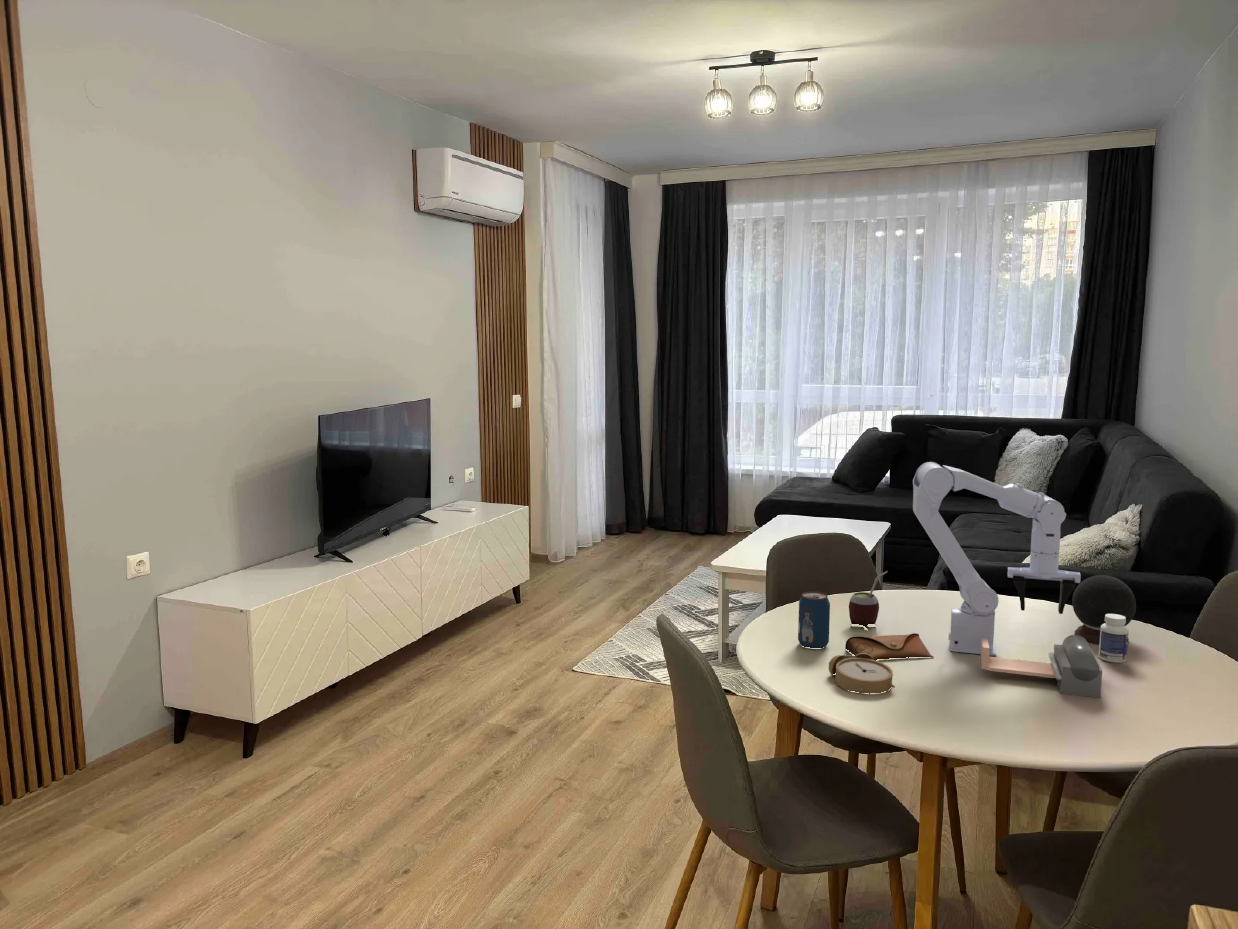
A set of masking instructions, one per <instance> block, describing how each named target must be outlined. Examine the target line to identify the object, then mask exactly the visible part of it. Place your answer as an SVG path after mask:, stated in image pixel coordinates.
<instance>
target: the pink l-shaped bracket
mask: <svg viewBox="0 0 1238 929" xmlns="http://www.w3.org/2000/svg"><path fill="white" fill-rule="evenodd" d="M980 663H981V669H982V670H987V671H991V672H999V673H1010V674H1018V675H1027V676H1036V677H1045V678H1047V677H1048V678H1054V679H1056V675H1055V672H1054V669H1053V667H1052V664H1051V662H1042V661H1034V660H1023V659H1016V658H1007V657H1006V658H1004V657H997V656H996V657H995V656H990V655H989V643H988V639H983V638H982V644H981V654H980Z"/></svg>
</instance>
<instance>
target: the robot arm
mask: <svg viewBox="0 0 1238 929" xmlns="http://www.w3.org/2000/svg"><path fill="white" fill-rule="evenodd" d="M912 485H913V486H912V489H913V490H912V492H913V498H912V511H913V513H914V515H915V516H916V518H917V520H918V521H919V523H920V524H921V526H922V527H923V530H925V533H926V534H927V535H928V537H929V539H930V540H931V542H932V543H933V545H934V546H935V548H936V549H937V551H938V552H939V554H940V556H941V558H942V559H943V561H944V563H945V564H946V566H947V567H948V568H949V570H950V572H951V573H952V575H953V577H954V579H955V581H956V582H957V584H958V587H959V594H960V597H961V598H962V599H963V602H962V604H961V605H960V608H951V611H950V628H949V630H950V632H948V641H949V651H950V650H951V651H950V652H959V653H967V654H974V655H981V644H982V638H983V639H988V643H989V656H991V657H995V656H996V654H997V653H996V647H995V643H994V636H995V634H994V633H995V622H996V609H997V608H998V606H999V596H998V594H997V592H996V591H995V590H994V589H992V588H991V587H990V586H989V585H988V584H987V582H986V581H985V580H984V579H983V578H981V576H980V575H979V573H978V572H977V570H976V569H975V568H974V566H973V564H972V562H971V561H970V559H969V558H968V556H967V555H966V553H965V552H964V550H963V549H962V547H961V545H960V544H959V542H958V540H957V539H956V538H955V536H954V534H953V533H952V531H951V530H950V528H949V526H948V525H947V523H946V522H945V519H944V518H943V517H942V515H941V514H940V512H939V509H940V507H941V504H942V501H943V499H944V498H945V497H946V496H947V495H948V493H949V492H950V491H951V490H952V491H953V492H957V491H961V490H963V489H964V490H965V489H966V490H969V491H971V492H974V493H978V494H981V495H983V496H987V497H988V498H992V499H995V500H997V502H998V505H999V507H1000V508H1002V509H1004V510H1007V511H1010V512H1012V513H1015V514H1018V515H1020V516H1023V517H1026V518H1028V519H1029V518H1032V526H1031V536H1030V537H1031V539H1030V555H1029V557H1030V558H1029V559H1030V560H1029V567H1011V566H1009V567H1007V578H1010V579H1011V578H1012V582H1013V584H1014V586H1015V589H1016V591H1017V594H1018V598H1019V602H1020V604H1019V605H1020V611H1024V612H1025V608H1026V605H1025V604H1026V601H1025V600H1026V598H1025V594H1026V579H1033V580H1045V581H1059V582H1060V583H1059V584H1060V585H1059V588H1060V589H1059V601H1058V606H1057V608H1058V611H1057V612H1058V614H1059V615H1062V614H1063V613H1064V610H1065V606H1066V604H1067V602H1068V599H1069V597H1070V596H1071V594H1072V592H1073V591H1075V589H1076V588H1075V587H1076V584H1080V583H1081V578H1082V577H1081V576H1082V575H1081V573H1080V572H1079V571H1070V570H1069V571H1068V570H1062V569H1059V562H1060V544H1061V542H1060V541H1061V525H1062V524H1063V522H1064V521H1065V519H1066V517H1067V513H1066V512H1065V507H1064V506H1063V505H1062V503H1061V502H1059V501H1058V500H1056V499H1053V498H1052V497H1049V496H1048V495H1046V494H1045V493H1043V492H1041V491H1039V492H1035V491H1032V490H1030V489H1027V488H1025V485H1024V484H1022V483H1019V482H1016V484H1014V483H1008V484H1006V485H1000V484H997V483H995V482H993V481H990V480H987V479H986V478H984V477H983V478H982V477H980V476H978V475H976V474H972V473H970V472H968V471H965V470H962V469H961V468H957V467H956V468H955V467H953V466H948V465H944V464H943V465H942V466H941V465H940V464H938V463H937V462H934V461H929V462H928V461H927V462H924V463H922V464H921V465H920V466H919V467H918V468H917V469H916V472H915V474H914V477H913V479H912ZM1075 583H1076V584H1075Z"/></svg>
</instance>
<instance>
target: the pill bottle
mask: <svg viewBox="0 0 1238 929" xmlns="http://www.w3.org/2000/svg"><path fill="white" fill-rule="evenodd" d="M1105 622H1106V623H1104V624H1102V625H1101V628H1100V642H1099V645H1098V658H1100V659H1101V660H1102V661H1105V662H1108V663H1109V662H1110V663H1115V664H1117V663H1118V664H1120V663H1126V662H1127V655H1128V647H1129V646H1128V644H1129V641H1128V639H1129V629H1128V627H1127V625H1126V626H1124V625H1125V623H1126V617H1124V616H1122V615H1118V614H1106V615H1105Z"/></svg>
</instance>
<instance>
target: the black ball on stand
mask: <svg viewBox="0 0 1238 929" xmlns="http://www.w3.org/2000/svg"><path fill="white" fill-rule="evenodd" d="M1076 586H1077V587H1076V588H1074V590H1073V591H1074V592H1073V594H1072V598H1071V599H1072V603H1071V604H1072V608H1073V609H1072V610H1073V612H1074V614H1075V616H1076V618H1077V619H1078V620H1079V622H1081V623H1082V625H1079V626H1077V628H1076V629H1075V630H1074V634H1073V635H1079V636H1082V637H1083V638H1085V639H1086V641H1087V642H1088V644H1093V645H1097V646H1099V642H1100V628H1101V625H1102V624H1104V623H1106V622H1105V615H1106V614H1118V615H1122V616H1124V617H1126V623H1125V625H1124V626H1126V627H1127V625H1129V624H1130V623H1131V622H1132V620H1133V618H1134V616H1135V614H1136V610H1137V601H1136V597H1135V595H1134V593H1133V591H1132V589H1131V588H1130V586H1128V585H1127V584H1126V583H1125V582H1124V581H1122V580H1121V579H1119V578H1118V577H1115V576H1111V575H1106V574H1100V575H1099V574H1098V575H1097V574H1096V575H1093V576H1090V577H1087V578H1085V579H1083V580H1082V581H1080V583H1078V585H1076ZM1128 642H1129V638H1128Z"/></svg>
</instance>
